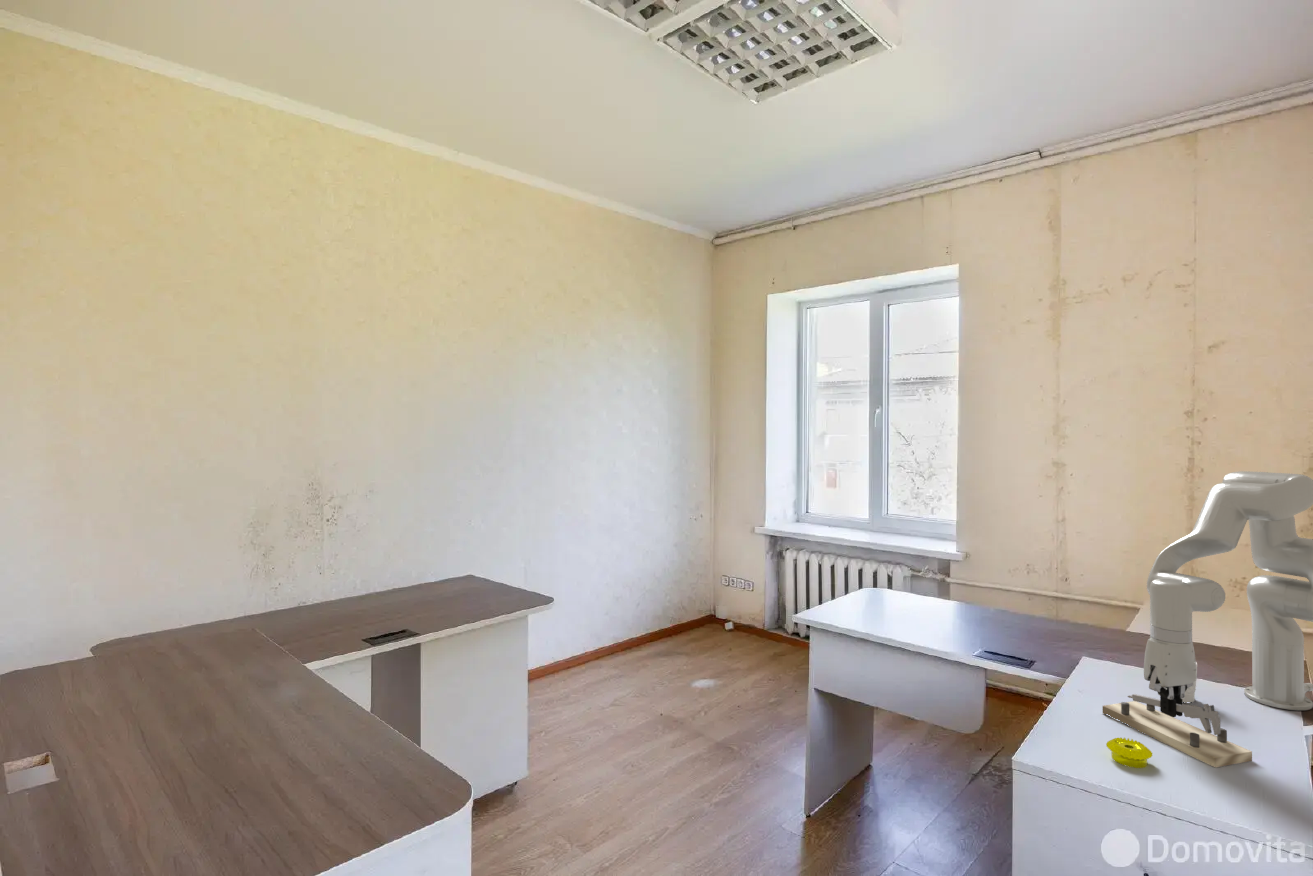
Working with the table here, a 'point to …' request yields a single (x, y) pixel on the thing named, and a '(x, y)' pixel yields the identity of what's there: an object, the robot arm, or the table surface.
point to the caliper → (1189, 712)
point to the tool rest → (1179, 734)
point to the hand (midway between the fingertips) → (1171, 713)
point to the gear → (1129, 752)
